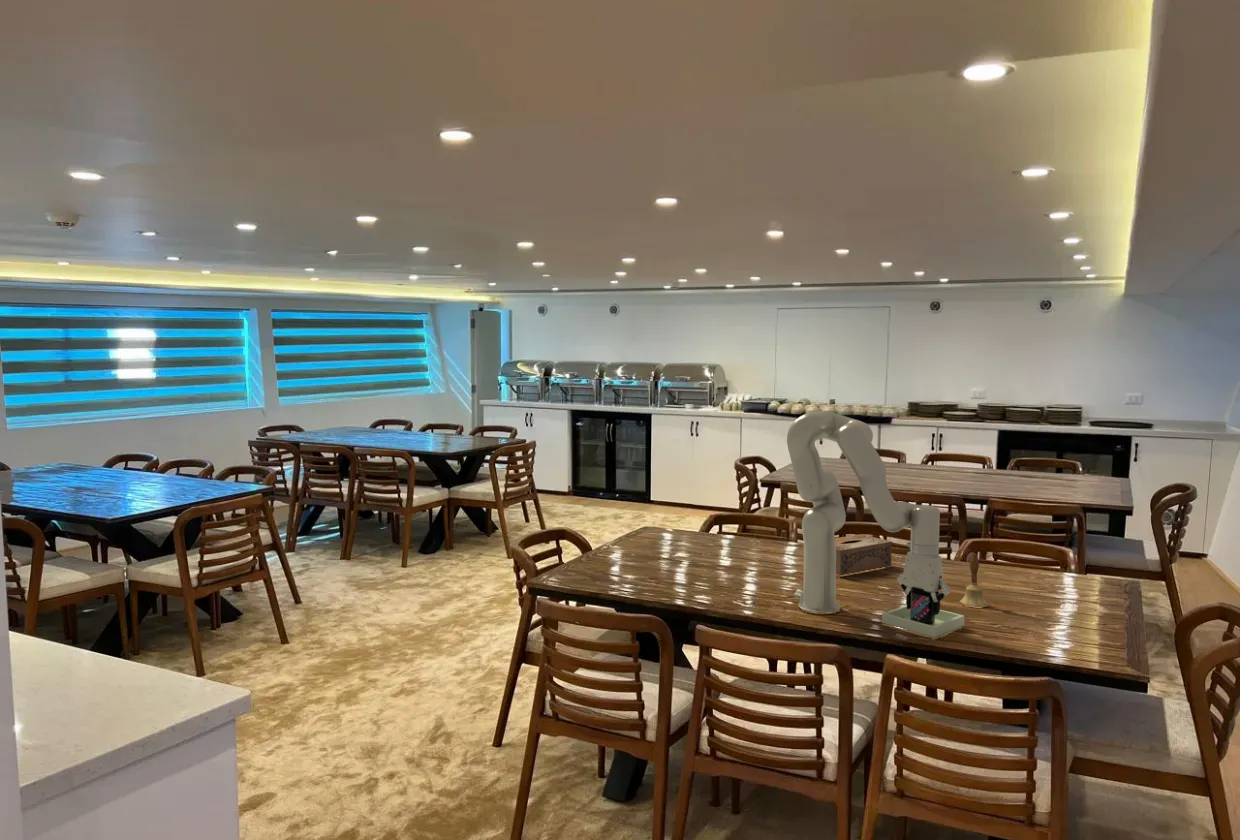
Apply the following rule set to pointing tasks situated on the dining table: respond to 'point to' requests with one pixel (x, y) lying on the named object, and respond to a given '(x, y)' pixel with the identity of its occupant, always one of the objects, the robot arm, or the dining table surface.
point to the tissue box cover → (861, 553)
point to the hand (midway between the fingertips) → (922, 610)
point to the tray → (940, 627)
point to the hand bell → (974, 587)
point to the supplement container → (921, 606)
